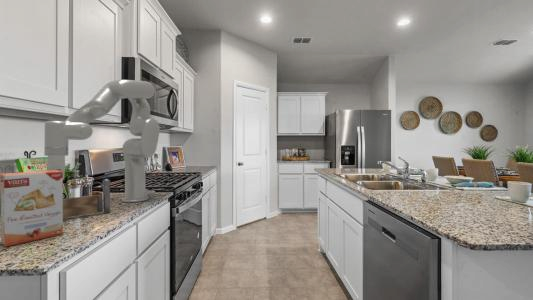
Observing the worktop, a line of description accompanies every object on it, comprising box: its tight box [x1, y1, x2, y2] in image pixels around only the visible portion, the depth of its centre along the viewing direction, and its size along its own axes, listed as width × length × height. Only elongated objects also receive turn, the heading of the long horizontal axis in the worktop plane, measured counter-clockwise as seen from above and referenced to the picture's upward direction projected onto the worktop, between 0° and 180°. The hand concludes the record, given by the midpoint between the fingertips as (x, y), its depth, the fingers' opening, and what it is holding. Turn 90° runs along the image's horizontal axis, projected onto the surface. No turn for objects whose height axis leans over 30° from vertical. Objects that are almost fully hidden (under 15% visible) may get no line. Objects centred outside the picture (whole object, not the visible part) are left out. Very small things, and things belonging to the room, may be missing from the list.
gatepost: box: [101, 178, 111, 215], centre depth 114 cm, size 3×3×14 cm
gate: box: [63, 193, 103, 219], centre depth 105 cm, size 21×2×7 cm, turn 134°
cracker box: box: [0, 170, 64, 247], centre depth 84 cm, size 14×6×21 cm, turn 143°
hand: (56, 197), depth 107 cm, fingers closed
